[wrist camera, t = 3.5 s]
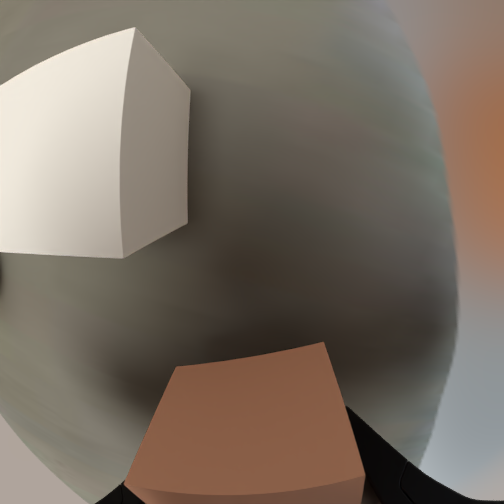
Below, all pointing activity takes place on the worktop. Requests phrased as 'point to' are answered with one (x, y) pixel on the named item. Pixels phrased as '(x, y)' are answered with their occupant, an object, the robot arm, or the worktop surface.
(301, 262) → the worktop surface
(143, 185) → the off-white cube
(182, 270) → the worktop surface
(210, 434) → the terracotta cube
